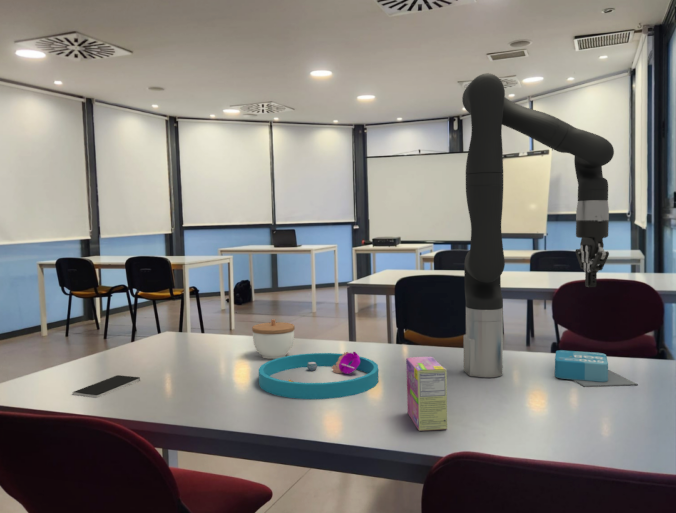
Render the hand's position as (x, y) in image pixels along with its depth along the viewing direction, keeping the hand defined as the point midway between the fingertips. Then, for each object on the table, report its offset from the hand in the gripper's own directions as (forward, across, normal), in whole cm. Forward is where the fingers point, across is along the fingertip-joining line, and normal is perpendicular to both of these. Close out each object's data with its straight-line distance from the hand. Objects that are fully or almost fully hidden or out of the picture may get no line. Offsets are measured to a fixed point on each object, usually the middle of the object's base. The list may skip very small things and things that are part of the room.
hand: (590, 286), depth 142 cm
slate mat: (+22, +5, -1) cm, 23 cm away
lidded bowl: (+23, -27, -83) cm, 90 cm away
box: (+23, +31, -49) cm, 62 cm away
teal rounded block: (+20, -3, -1) cm, 20 cm away
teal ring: (+24, 0, -70) cm, 74 cm away
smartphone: (+24, +1, -122) cm, 124 cm away
